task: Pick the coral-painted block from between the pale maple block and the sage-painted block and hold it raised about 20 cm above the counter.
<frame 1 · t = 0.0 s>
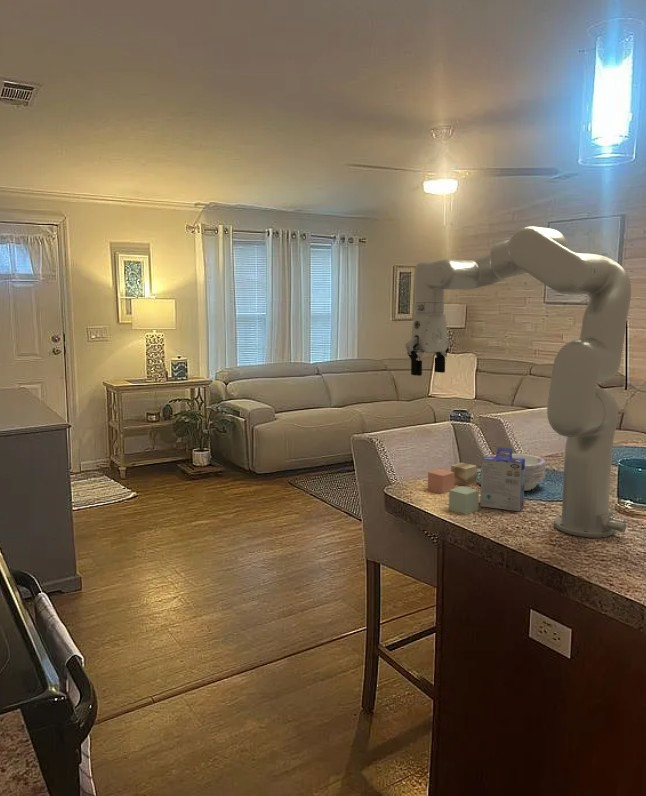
hand: (428, 373, 170), 31 cm above the worktop, tool pointing down, fingers open, 9 cm apart
maple block: (463, 483, 177), on the worktop
ink cartridge box: (502, 507, 157), on the worktop
sage block: (463, 509, 155), on the worktop
coral block: (441, 490, 171), on the worktop
paper bowls: (515, 487, 173), on the worktop
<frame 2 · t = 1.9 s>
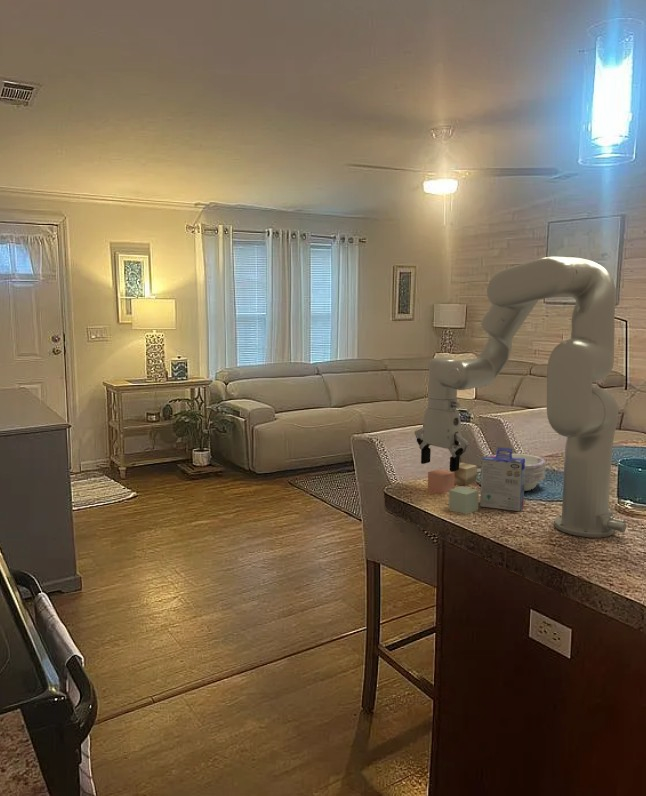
hand: (439, 466, 170), 6 cm above the worktop, tool pointing down, fingers open, 9 cm apart
nothing on the worktop moved.
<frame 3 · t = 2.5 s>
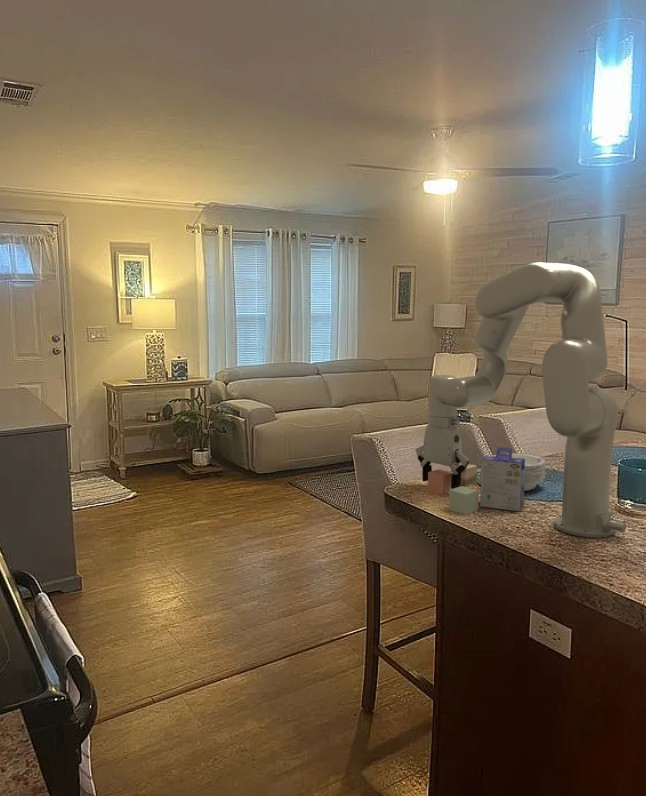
hand: (441, 484, 171), 2 cm above the worktop, tool pointing down, fingers open, 9 cm apart
nothing on the worktop moved.
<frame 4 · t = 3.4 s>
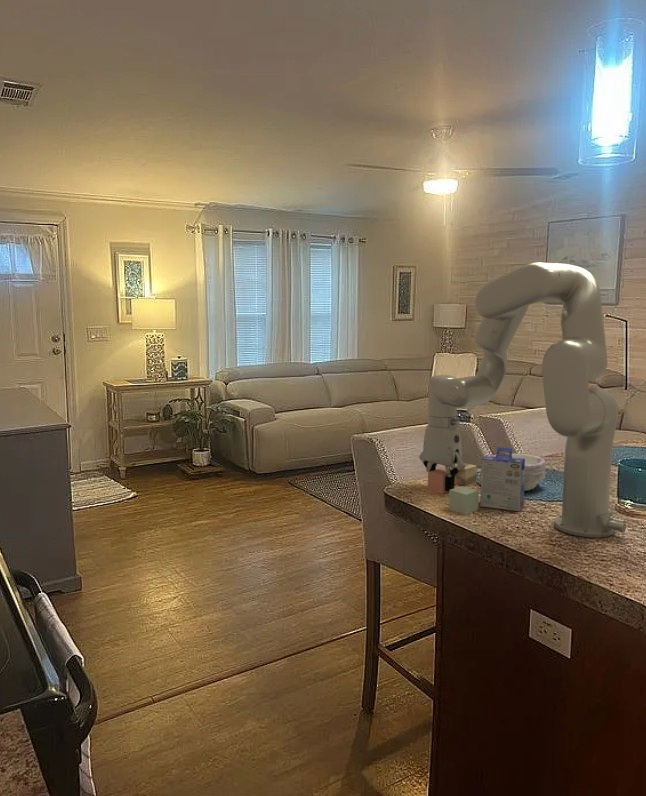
hand: (441, 487, 171), 1 cm above the worktop, tool pointing down, fingers closed on coral block, 5 cm apart
coral block: (440, 489, 171), on the worktop, touching gripper
everything else where it was.
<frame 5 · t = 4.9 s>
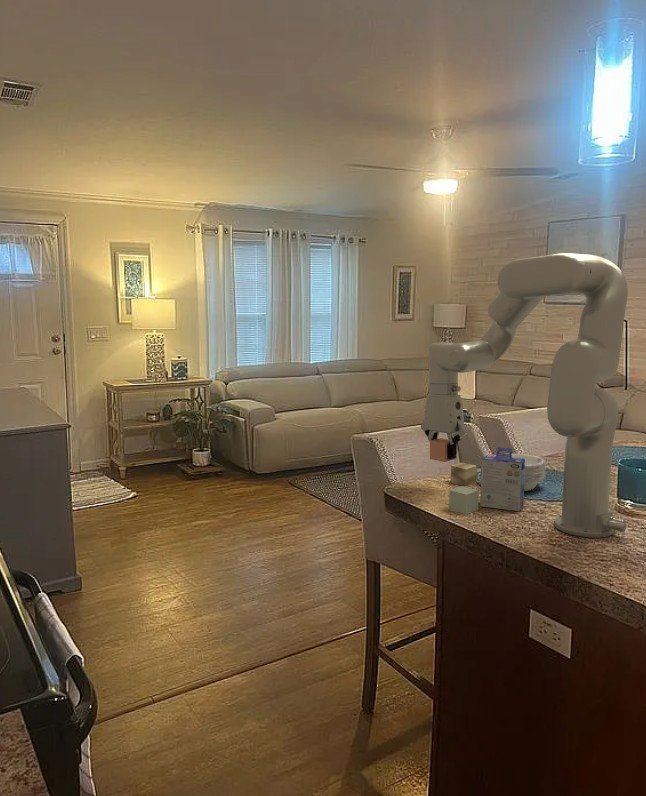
hand: (443, 456, 169), 9 cm above the worktop, tool pointing down, fingers closed on coral block, 4 cm apart
coral block: (443, 458, 169), point 9 cm above the worktop, touching gripper
everything else where it was.
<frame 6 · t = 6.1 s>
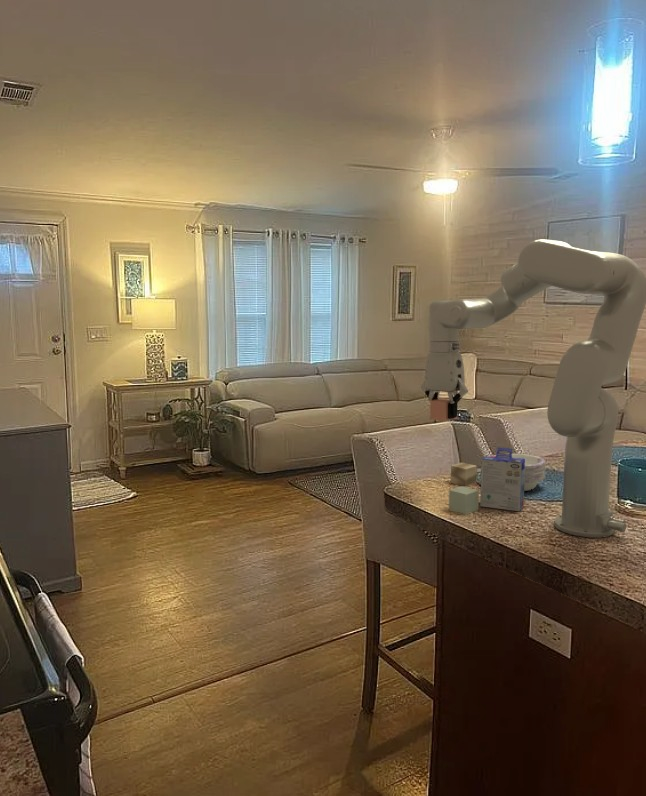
hand: (443, 416, 167), 20 cm above the worktop, tool pointing down, fingers closed on coral block, 4 cm apart
coral block: (443, 418, 168), point 20 cm above the worktop, touching gripper
everything else where it was.
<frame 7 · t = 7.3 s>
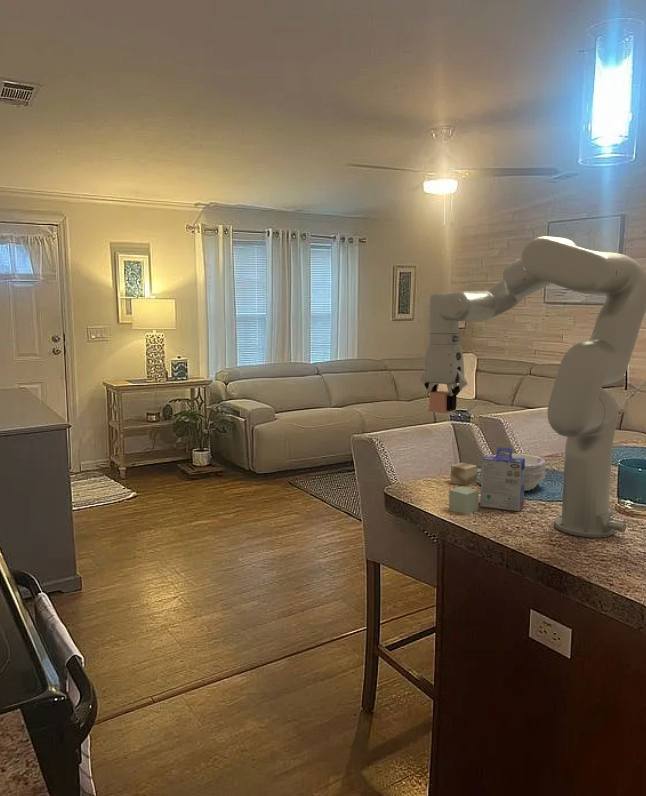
hand: (442, 408, 167), 22 cm above the worktop, tool pointing down, fingers closed on coral block, 4 cm apart
coral block: (442, 411, 168), point 22 cm above the worktop, touching gripper
everything else where it was.
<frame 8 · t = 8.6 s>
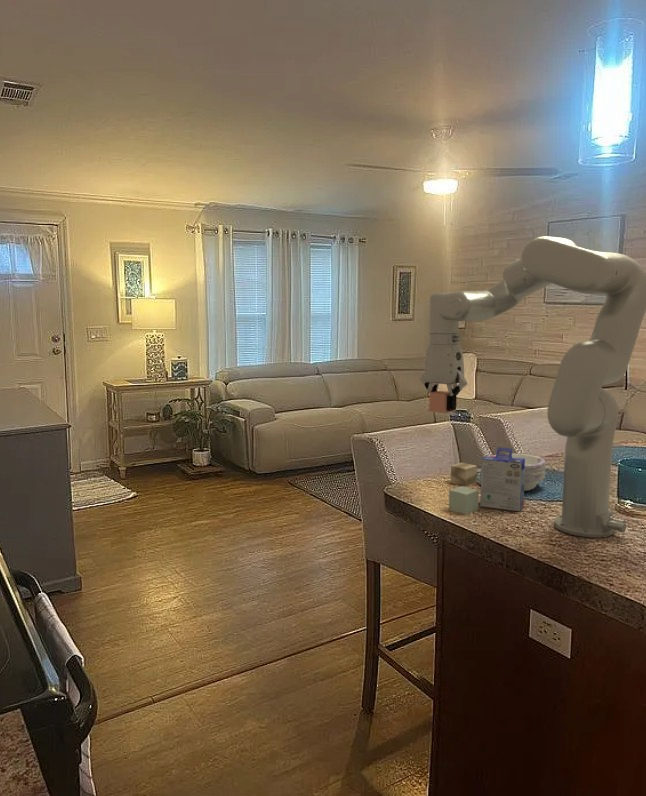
hand: (442, 408, 167), 22 cm above the worktop, tool pointing down, fingers closed on coral block, 4 cm apart
coral block: (442, 411, 168), point 22 cm above the worktop, touching gripper
everything else where it was.
at the end: the gripper is holding coral block; coral block point 21.6 cm above the worktop; maple block moved 0.1 cm from its start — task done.
